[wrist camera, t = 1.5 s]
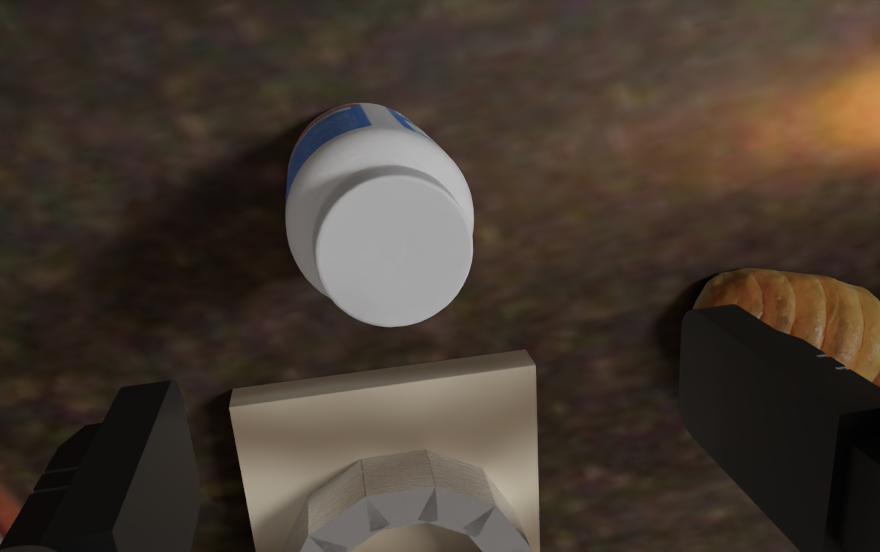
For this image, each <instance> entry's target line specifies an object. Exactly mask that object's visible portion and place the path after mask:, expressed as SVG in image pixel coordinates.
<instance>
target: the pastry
mask: <svg viewBox="0 0 880 552" xmlns="http://www.w3.org/2000/svg"><path fill="white" fill-rule="evenodd" d="M729 304H736V305H738V306H740V307H741V308H743V309H744V310H746V311H748V312H749V313H751V314H752V315H754V316H755V317H757V318H758V319H760V320H762V321H763V322H765V323H766V324H768V325H769V326H771V327H772V328H774V329H776V330H778V331H781V332H784V333H787V334H790V335H793V336H796V337H798V338H801V339H804V340H805V341H807V342H808V343H810V344H812V345H813V346H815V347H816V348H818V349H820V350H821V351H823V352H824V353H826V356H827V357H832V358H834V359H835V360H837V361H839V362H840V363H842V364H843V365H845V366H846V369H851V370H853V371H855V372H856V373H858V374H859V375H861V376H863V377H864V378H866V379H867V380H869V381H871V382H872V383H874V384H875V385H877V386H878V387H880V301H879V300H878V299H877V298H876V297H875V296H874V295H872V294H871V293H870V291H868V290H867V289H865V288H863V287H859V286H854V285H849V284H847V283H844V282H841V281H838V280H836V279H834V278H831V277H827V276H821V275H814V274H803V273H794V272H785V271H774V270H767V269H757V268H742V269H738V270H734V271H730V272H724V273H720V274H718V275H716V276H715V277H713V278H712V279H711V280H709V281H708V282H707V283H706V285H705V287H704V288H703V290H702V292H701V293H700V295H699V296H698V298H697V300H696V302H695V304H694V306H693V309H700V308H707V307H715V306H722V305H729ZM693 309H692V310H693Z"/></svg>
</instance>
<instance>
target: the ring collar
mask: <svg viewBox="0 0 880 552" xmlns="http://www.w3.org/2000/svg"><path fill="white" fill-rule="evenodd" d="M422 523H431V524H434V525H437V526H440V527H444V528H447V529H450V530H454V531H457V532H460V533H463V534H467V535H468V536H469V537H470V538H471V539H472V540H473V541H474V543H475V544H476V545H477V546H478V547H479V548H480V552H531V548H530V545H529V543H528V540H527V538H526V535H525V533H524V531H523V528H522V526H521V524H520V521H519V519H518V516H517V514H516V512H515V509H514V507H513V506H512V505H511V504H510V502H509V501H508V500H507V499H506V497H505V496H504V495H503V494H502V492H501V491H500V490H499V489H498V487H497V486H496V485H495V484H494V482H493V481H492V480H491V479H490V477H489V476H488V475H487V474H486V472H485V471H484V470H483V469H482V468H481V467H478V466H475V465H472V464H469V463H466V462H463V461H460V460H457V459H454V458H451V457H448V456H445V455H442V454H439V453H436V452H433V451H430V450H427V449H422V450H415V451H409V452H402V453H396V454H389V455H382V456H376V457H369V458H363V459H362V460H361V459H360V460H359V461H357V462H356V463H354V464H353V465H351V466H350V467H348V468H347V469H345V470H344V471H342V472H341V473H340V474H338V475H337V476H335V477H334V478H332V479H331V480H329V481H328V482H326V483H325V484H323V485H322V486H321V487H319V488H318V489H316V490H315V491H313V492H312V493H310V494H309V495H308V496H307V498H306V500H305V502H304V504H303V506H302V509H301V511H300V513H299V515H298V517H297V519H296V521H295V523H294V525H293V527H292V529H291V531H290V533H289V535H288V537H287V539H286V541H285V543H284V545H283V552H350V551H351V550H353V549H354V548H356V547H357V546H359V545H360V544H361V543H363V542H364V541H366V540H367V539H369V538H370V537H372V536H373V535H375V534H376V533H378V532H379V531H381V530H385V529H391V528H397V527H403V526H409V525H415V524H422Z"/></svg>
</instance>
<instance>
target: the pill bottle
mask: <svg viewBox="0 0 880 552" xmlns="http://www.w3.org/2000/svg"><path fill="white" fill-rule="evenodd" d="M285 223H286V232H287V238H288V243H289V246H290V250H291V252H292V255H293V257H294V260H295V261H296V263H297V265H298V267H299V269H300V270H301V272H302V273H303V275H304V276H305V277H306V278H307V280H308V281H309V282H310V283H311V284H312V285H313V286H314V287H315V288H316V289H318V290H319V291H320V292H321V293H323V294H324V295H326V296H327V297H329V298H331V299H332V301H333V302H334V303H335V304H336V305H337V306H338V307H339V308H340V309H342V310H343V311H344V312H346V313H347V314H349V315H350V316H351V317H353V318H355V319H358V320H360V321H363V322H365V323H368V324H372V325H376V326H383V327H396V326H406V325H411V324H415V323H418V322H421V321H423V320H425V319H427V318H430V317H431V316H433V315H435V314H436V313H438V312H439V311H440V310H442V309H443V308H445V307H446V306H447V305H448V304H449V303H450V302H451V301H452V300H453V299H454V298H455V296H456V295H457V294H458V292H459V291H460V289H461V288H462V286H463V284H464V282H465V280H466V278H467V276H468V273H469V270H470V267H471V263H472V255H473V240H472V234H473V227H474V210H473V203H472V198H471V194H470V190H469V188H468V185H467V183H466V180H465V178H464V176H463V174H462V173H461V171H460V170H459V168H458V167H457V165H456V164H455V163H454V162H453V160H452V159H451V158H450V157H449V156H448V155H447V154H446V153H445V152H444V151H443V150H442V149H441V148H440V147H439V146H438V145H437V144H436V143H435V142H434V141H433V140H432V139H431V138H430V137H429V136H428V135H427V134H425V133H424V132H423V131H422V130H421V129H420V128H419V127H417V126H416V125H415V124H414V123H413V122H412V121H410V120H409V119H408V118H406V117H405V116H403V115H402V114H400V113H398V112H396V111H394V110H392V109H390V108H387V107H384V106H381V105H377V104H371V103H352V104H346V105H342V106H338V107H336V108H333V109H331V110H329V111H327V112H325V113H323V114H322V115H320V116H319V117H317V118H316V119H315V120H314V121H312V122H311V123H310V124H309V125H308V126H307V128H306V129H305V130H304V131H303V133H302V134H301V136H300V137H299V138H298V140H297V142H296V144H295V146H294V148H293V151H292V153H291V156H290V160H289V165H288V174H287V189H286V209H285Z"/></svg>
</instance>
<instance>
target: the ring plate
mask: <svg viewBox="0 0 880 552" xmlns="http://www.w3.org/2000/svg"><path fill="white" fill-rule="evenodd" d="M229 410H230V415H231V421H232V426H233V431H234V437H235V442H236V448H237V453H238V458H239V464H240V469H241V474H242V480H243V485H244V490H245V496H246V501H247V507H248V512H249V517H250V523H251V528H252V533H253V539H254V544H255V549H256V552H283V545H284V543H285V541H286V539H287V537H288V535H289V533H290V531H291V529H292V527H293V525H294V523H295V521H296V519H297V517H298V515H299V513H300V511H301V509H302V506H303V504H304V502H305V500H306V498H307V496H308V495H309V494H310V493H312V492H313V491H315V490H316V489H318V488H319V487H321V486H322V485H323V484H325V483H326V482H328V481H329V480H331V479H332V478H334V477H335V476H337V475H338V474H340V473H341V472H342V471H344V470H345V469H347V468H348V467H350V466H351V465H353V464H354V463H356V462H357V461H359V460H360V459H361V460H362V459H363V458H369V457H376V456H382V455H389V454H396V453H402V452H409V451H415V450H422V449H427V450H430V451H433V452H436V453H439V454H442V455H445V456H448V457H451V458H454V459H457V460H460V461H463V462H466V463H469V464H472V465H475V466H478V467H481V468H482V469H483V470H484V471H485V472H486V474H487V475H488V476H489V477H490V479H491V480H492V481H493V482H494V484H495V485H496V486H497V487H498V489H499V490H500V491H501V492H502V494H503V495H504V496H505V497H506V499H507V500H508V501H509V502H510V504H511V505H512V506H513V507H514V509H515V512H516V514H517V516H518V519H519V521H520V524H521V526H522V528H523V531H524V533H525V535H526V538H527V540H528V543H529V545H530V548H531V552H540V536H539V491H538V447H537V402H536V365H535V363H534V362H533V360H532V359H531V357H530V356H529V354H528V353H527V351H526V350H525V349H524V350H517V351H510V352H502V353H495V354H487V355H480V356H473V357H465V358H458V359H450V360H443V361H436V362H428V363H421V364H413V365H406V366H399V367H391V368H384V369H376V370H369V371H362V372H354V373H347V374H339V375H332V376H325V377H317V378H310V379H302V380H295V381H288V382H280V383H273V384H265V385H258V386H251V387H243V388H236V389H233V391H232V396H231V401H230V405H229ZM350 552H480V548H479V547H478V546H477V545H476V544H475V543H474V541H473V540H472V539H471V538H470V537H469V536H468V535H467V534H463V533H460V532H457V531H454V530H450V529H447V528H444V527H440V526H437V525H434V524H431V523H422V524H415V525H409V526H403V527H397V528H391V529H385V530H381V531H379V532H378V533H376V534H375V535H373V536H372V537H370V538H369V539H367V540H366V541H364V542H363V543H361V544H360V545H359V546H357V547H356V548H354V549H353V550H351V551H350Z"/></svg>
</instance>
